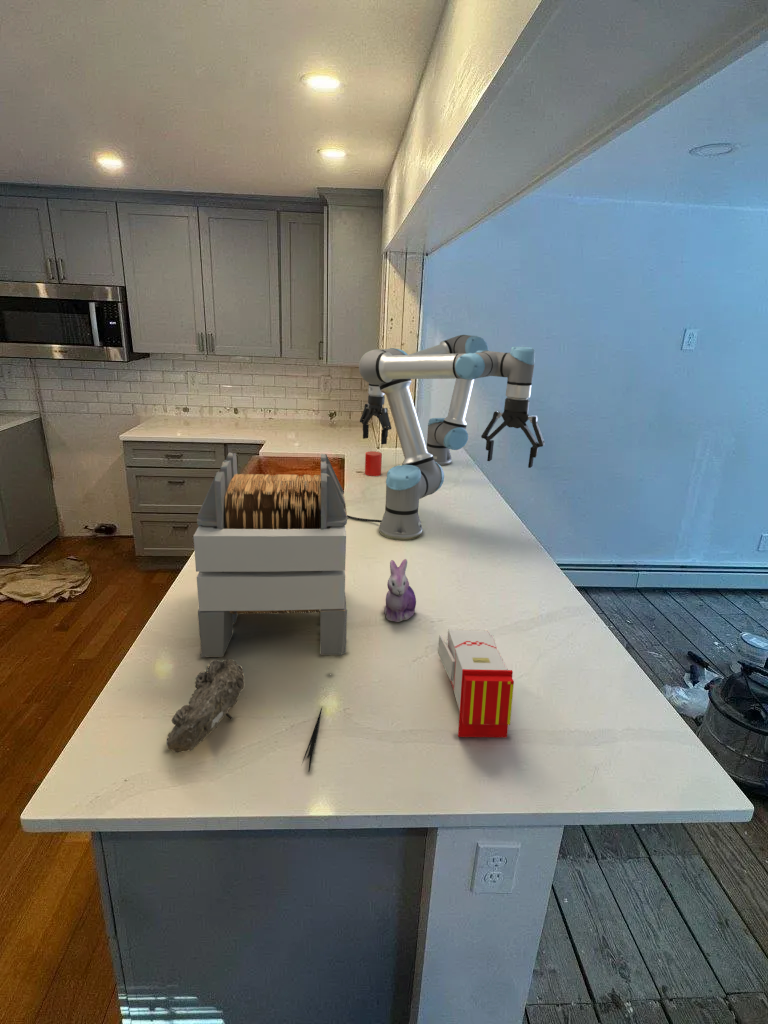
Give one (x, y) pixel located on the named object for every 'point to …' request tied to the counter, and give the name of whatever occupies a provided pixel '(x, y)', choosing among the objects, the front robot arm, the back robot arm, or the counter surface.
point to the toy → (478, 682)
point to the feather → (313, 740)
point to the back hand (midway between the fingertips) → (374, 441)
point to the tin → (373, 463)
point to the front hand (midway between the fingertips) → (509, 463)
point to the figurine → (399, 594)
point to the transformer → (271, 552)
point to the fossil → (206, 705)
